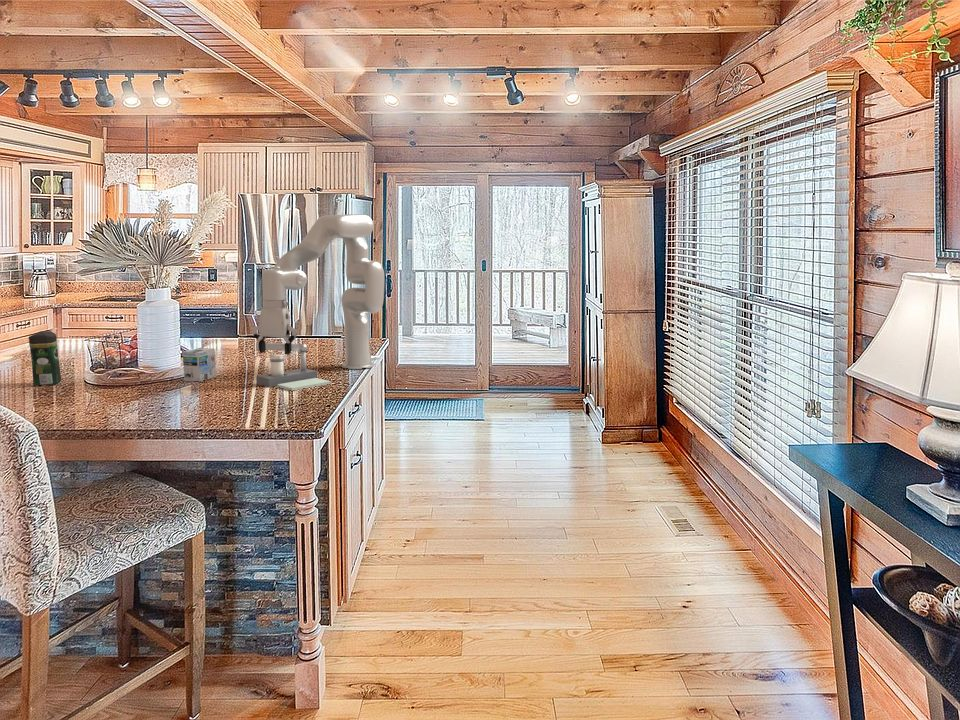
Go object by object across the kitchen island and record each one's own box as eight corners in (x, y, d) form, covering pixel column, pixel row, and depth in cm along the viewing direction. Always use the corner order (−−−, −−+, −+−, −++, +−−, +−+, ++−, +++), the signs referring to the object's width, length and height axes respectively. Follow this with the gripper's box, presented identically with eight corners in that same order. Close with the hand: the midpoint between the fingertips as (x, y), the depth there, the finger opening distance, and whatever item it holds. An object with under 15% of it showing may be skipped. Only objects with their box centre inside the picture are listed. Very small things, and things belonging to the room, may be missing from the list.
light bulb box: (200, 382, 257) (198, 352, 255) (183, 381, 258) (181, 351, 256) (217, 376, 267) (215, 348, 265) (200, 375, 268) (198, 347, 267)
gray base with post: (304, 376, 269) (303, 349, 267) (317, 379, 264) (316, 351, 262) (256, 384, 254) (255, 355, 252) (269, 387, 249) (267, 358, 247)
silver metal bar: (308, 350, 263) (307, 344, 263) (304, 351, 261) (304, 345, 260) (259, 348, 267) (259, 342, 267) (255, 349, 264) (255, 343, 264)
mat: (315, 380, 261) (315, 377, 261) (331, 384, 255) (330, 381, 255) (277, 387, 249) (277, 384, 249) (292, 391, 243) (292, 388, 243)
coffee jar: (38, 381, 256) (33, 330, 252) (63, 380, 258) (58, 329, 255) (30, 387, 246) (24, 333, 243) (56, 386, 249) (51, 333, 245)
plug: (279, 381, 259) (278, 354, 257) (286, 383, 256) (285, 355, 254) (268, 383, 256) (267, 355, 254) (275, 385, 253) (274, 356, 251)
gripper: (301, 304, 253) (302, 353, 255) (256, 303, 256) (258, 350, 259) (292, 306, 246) (293, 356, 248) (245, 304, 249) (247, 353, 252)
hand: (275, 353), depth 254 cm, fingers open, 9 cm apart
